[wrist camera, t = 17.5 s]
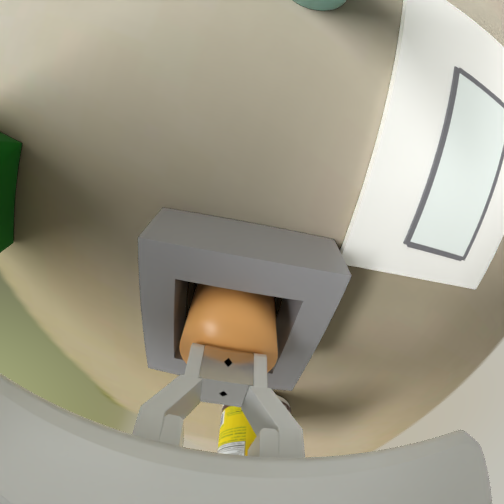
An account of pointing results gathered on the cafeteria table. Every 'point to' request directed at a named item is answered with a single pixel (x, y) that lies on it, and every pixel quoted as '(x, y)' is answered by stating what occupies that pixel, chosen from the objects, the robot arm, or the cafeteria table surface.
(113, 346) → the cafeteria table surface
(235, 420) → the supplement bottle
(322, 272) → the button housing
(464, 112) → the worksheet
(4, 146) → the milk carton
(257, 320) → the button
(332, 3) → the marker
